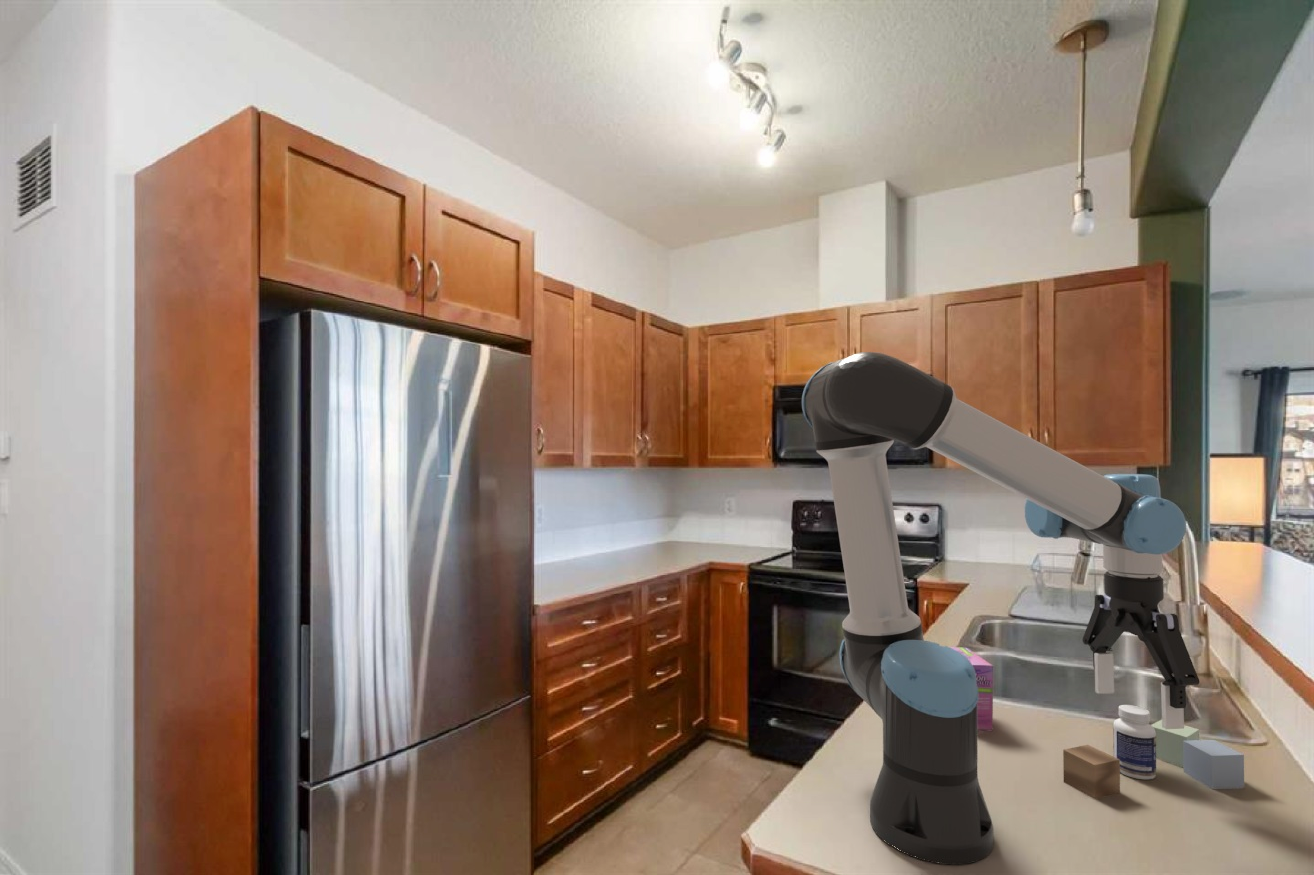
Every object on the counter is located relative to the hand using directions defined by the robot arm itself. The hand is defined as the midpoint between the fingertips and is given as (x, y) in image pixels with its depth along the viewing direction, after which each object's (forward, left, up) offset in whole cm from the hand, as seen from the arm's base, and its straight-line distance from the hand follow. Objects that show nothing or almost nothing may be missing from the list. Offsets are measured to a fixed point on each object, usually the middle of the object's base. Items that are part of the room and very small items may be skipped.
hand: (1136, 709), depth 103 cm
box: (-16, +21, -10) cm, 28 cm away
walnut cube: (-10, -4, -10) cm, 15 cm away
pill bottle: (0, 0, -10) cm, 10 cm away
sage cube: (+10, +4, -10) cm, 14 cm away
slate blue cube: (+10, -3, -10) cm, 14 cm away
